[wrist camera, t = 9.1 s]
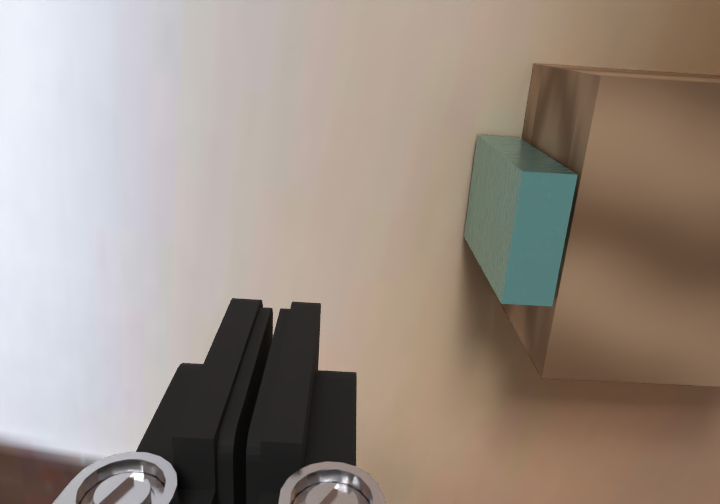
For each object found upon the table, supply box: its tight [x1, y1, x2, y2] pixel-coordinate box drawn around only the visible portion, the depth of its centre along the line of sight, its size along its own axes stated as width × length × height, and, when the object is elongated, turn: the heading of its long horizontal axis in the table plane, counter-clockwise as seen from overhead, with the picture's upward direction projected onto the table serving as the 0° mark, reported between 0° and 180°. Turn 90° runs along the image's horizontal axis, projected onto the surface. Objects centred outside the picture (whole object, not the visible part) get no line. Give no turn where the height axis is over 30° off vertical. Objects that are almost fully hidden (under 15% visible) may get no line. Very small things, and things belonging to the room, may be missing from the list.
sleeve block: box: [497, 63, 720, 387], centre depth 27 cm, size 12×14×8 cm
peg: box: [464, 134, 578, 306], centre depth 26 cm, size 5×14×8 cm, turn 86°
